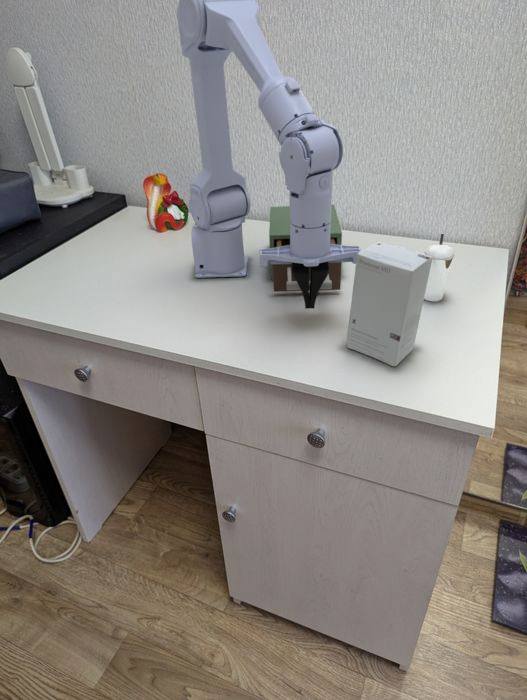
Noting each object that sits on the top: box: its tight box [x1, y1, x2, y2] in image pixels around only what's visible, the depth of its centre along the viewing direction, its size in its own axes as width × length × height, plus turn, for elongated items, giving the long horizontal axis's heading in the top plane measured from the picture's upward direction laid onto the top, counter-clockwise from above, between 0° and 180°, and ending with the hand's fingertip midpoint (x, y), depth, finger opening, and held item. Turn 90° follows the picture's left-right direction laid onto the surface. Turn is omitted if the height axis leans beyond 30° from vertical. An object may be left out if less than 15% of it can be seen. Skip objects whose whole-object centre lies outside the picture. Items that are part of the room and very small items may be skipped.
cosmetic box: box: [346, 240, 432, 367], centre depth 67 cm, size 8×6×15 cm
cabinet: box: [268, 204, 343, 281], centre depth 94 cm, size 15×13×9 cm
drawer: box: [272, 237, 343, 293], centre depth 85 cm, size 20×11×7 cm, turn 179°
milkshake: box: [424, 232, 456, 303], centre depth 80 cm, size 4×5×10 cm
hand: (309, 305), depth 77 cm, fingers closed, pressing on drawer
